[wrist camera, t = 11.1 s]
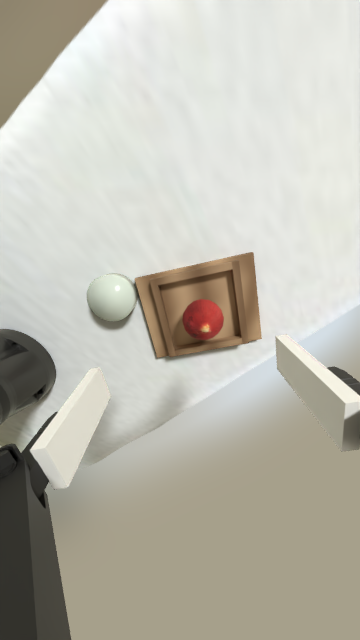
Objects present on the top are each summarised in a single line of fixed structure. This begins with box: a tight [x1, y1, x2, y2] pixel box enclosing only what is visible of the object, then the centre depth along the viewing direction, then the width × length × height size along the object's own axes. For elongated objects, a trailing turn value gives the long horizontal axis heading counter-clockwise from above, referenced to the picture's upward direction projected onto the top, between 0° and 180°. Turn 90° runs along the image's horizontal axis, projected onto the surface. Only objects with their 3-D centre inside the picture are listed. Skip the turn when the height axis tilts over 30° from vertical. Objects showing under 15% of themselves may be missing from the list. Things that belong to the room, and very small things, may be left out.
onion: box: [182, 299, 224, 340], centre depth 29 cm, size 6×6×8 cm
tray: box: [135, 252, 262, 358], centre depth 33 cm, size 18×14×3 cm
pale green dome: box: [87, 273, 138, 321], centre depth 32 cm, size 7×7×3 cm
